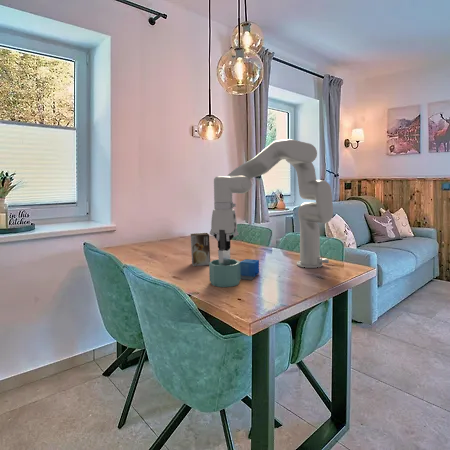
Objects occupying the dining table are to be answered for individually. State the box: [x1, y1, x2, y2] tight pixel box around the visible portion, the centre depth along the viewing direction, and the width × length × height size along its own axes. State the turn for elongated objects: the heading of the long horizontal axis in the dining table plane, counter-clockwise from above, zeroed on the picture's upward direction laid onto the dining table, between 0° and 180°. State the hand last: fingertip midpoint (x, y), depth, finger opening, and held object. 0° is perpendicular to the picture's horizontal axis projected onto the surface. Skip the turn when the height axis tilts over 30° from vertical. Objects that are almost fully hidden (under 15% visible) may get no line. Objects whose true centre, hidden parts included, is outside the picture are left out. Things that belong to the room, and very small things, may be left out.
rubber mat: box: [240, 274, 255, 281], centre depth 157 cm, size 12×9×1 cm
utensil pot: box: [208, 258, 242, 288], centre depth 148 cm, size 12×12×9 cm
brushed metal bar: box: [217, 230, 232, 266], centre depth 147 cm, size 2×9×18 cm, turn 160°
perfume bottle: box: [240, 258, 260, 278], centre depth 160 cm, size 6×6×12 cm
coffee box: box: [190, 232, 211, 267], centre depth 180 cm, size 9×6×16 cm
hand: (224, 249), depth 147 cm, fingers closed on brushed metal bar, 2 cm apart
